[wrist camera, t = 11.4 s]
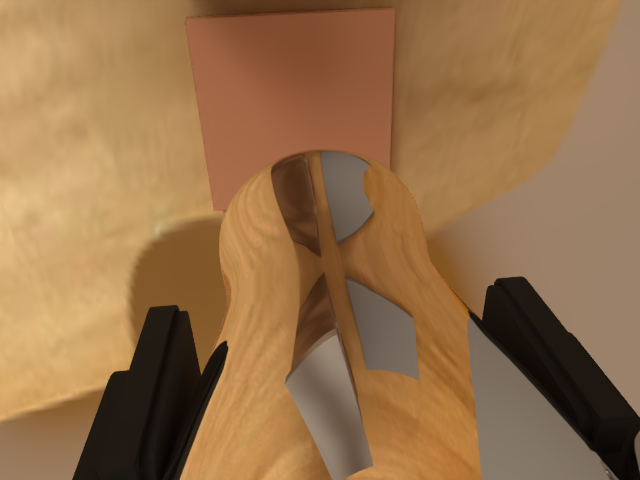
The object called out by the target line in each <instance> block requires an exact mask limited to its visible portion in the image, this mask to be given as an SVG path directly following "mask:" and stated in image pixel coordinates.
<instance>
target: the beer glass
mask: <svg viewBox="0 0 640 480" xmlns="http://www.w3.org/2000/svg"><path fill="white" fill-rule="evenodd" d="M219 255H220V262H221V269H222V275H223V280H224V284H225V289H226V294H227V307H226V311H225V316H224V320H223V323H222V326H221V328H220V331H219V333H218V336H217V339H216V342H215V344H214V347H213V349H212V352H211V354H210V357H209V359H208V361H207V364H206V366H205V368H204V371H203V373H202V376H201V378H200V380H199V383H198V385H197V388H196V390H195V392H194V395H193V397H192V400H191V403H190V405H189V408H188V410H187V413H186V415H185V418H184V420H183V423H182V425H181V428H180V430H179V433H178V435H177V438H176V440H175V443H174V445H173V448H172V450H171V453H170V455H169V458H168V461H167V463H166V466H165V469H164V472H163V475H162V478H161V480H621V478H620V477H619V475H618V474H617V473H616V471H615V470H614V469H613V467H612V466H611V465H610V464H609V462H608V461H607V460H606V459H605V458H604V456H603V455H602V454H601V453H600V452H599V451H598V449H597V448H596V447H595V446H594V445H593V443H592V442H591V441H590V440H589V439H588V438H587V436H586V435H585V434H584V433H583V432H582V430H581V429H580V428H579V427H578V426H577V425H576V423H575V422H574V421H573V420H572V419H571V417H570V416H569V415H568V414H567V413H566V412H565V410H564V409H563V408H562V407H561V406H560V404H559V403H558V402H557V401H556V400H555V399H554V397H553V396H552V395H551V394H550V393H549V392H548V390H547V389H546V388H545V387H544V386H543V385H542V384H541V382H540V381H539V380H538V379H537V378H536V377H535V376H534V375H533V374H532V373H531V372H530V371H529V370H528V369H527V368H526V367H525V366H524V364H523V363H522V362H521V361H520V360H519V359H518V358H517V357H516V356H515V355H514V354H513V353H512V352H511V351H510V350H509V349H508V348H507V347H506V345H505V344H504V343H503V342H502V341H501V340H500V339H499V338H498V337H497V336H496V335H495V334H494V333H493V332H492V331H491V330H490V329H489V328H488V327H487V326H486V325H485V324H484V323H483V322H482V320H481V319H480V318H479V317H478V316H477V315H476V314H475V313H474V312H472V310H471V309H470V308H469V307H468V306H467V305H466V304H465V303H464V302H463V301H462V300H461V299H460V298H459V297H458V295H456V293H455V292H454V291H453V290H452V289H451V288H450V287H449V285H448V284H447V283H446V282H445V281H444V280H443V279H442V278H441V276H440V275H439V273H438V272H437V271H436V269H435V268H434V266H433V265H432V263H431V261H430V259H429V255H428V249H427V243H426V237H425V231H424V227H423V222H422V218H421V215H420V212H419V209H418V206H417V204H416V202H415V200H414V198H413V196H412V194H411V192H410V191H409V189H408V188H407V186H406V185H405V184H404V182H403V181H402V180H401V179H400V178H399V177H398V176H397V175H396V174H395V173H393V172H392V171H391V170H390V169H388V168H387V167H385V166H384V165H382V164H380V163H379V162H377V161H375V160H373V159H371V158H369V157H366V156H364V155H361V154H358V153H354V152H350V151H345V150H337V149H315V150H307V151H302V152H297V153H294V154H291V155H288V156H285V157H282V158H280V159H278V160H276V161H274V162H272V163H270V164H268V165H266V166H265V167H263V168H262V169H260V170H259V171H258V172H256V173H255V174H254V175H253V176H251V177H250V178H249V179H248V180H247V181H246V182H245V183H244V184H243V185H242V187H241V188H240V189H239V190H238V192H237V193H236V194H235V196H234V197H233V199H232V200H231V202H230V204H229V206H228V208H227V210H226V213H225V215H224V218H223V221H222V225H221V230H220V240H219Z"/></svg>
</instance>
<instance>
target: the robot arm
mask: <svg viewBox="0 0 640 480" xmlns="http://www.w3.org/2000/svg"><path fill="white" fill-rule="evenodd" d="M482 322H483V323H484V324H485V325H486V326H487V327H488V328H489V329H490V330H491V331H492V332H493V333H494V334H495V335H496V336H497V337H498V338H499V339H500V340H501V341H502V342H503V343H504V344H505V345H506V347H507V348H508V349H509V350H510V351H511V352H512V353H513V354H514V355H515V356H516V357H517V358H518V359H519V360H520V361H521V362H522V363H523V364H524V366H525V367H526V368H527V369H528V370H529V371H530V372H531V373H532V374H533V375H534V376H535V377H536V378H537V379H538V380H539V381H540V382H541V384H542V385H543V386H544V387H545V388H546V389H547V390H548V392H549V393H550V394H551V395H552V396H553V397H554V399H555V400H556V401H557V402H558V403H559V404H560V406H561V407H562V408H563V409H564V410H565V412H566V413H567V414H568V415H569V416H570V417H571V419H572V420H573V421H574V422H575V423H576V425H577V426H578V427H579V428H580V429H581V430H582V432H583V433H584V434H585V435H586V436H587V438H588V439H589V440H590V441H591V442H592V443H593V445H594V446H595V447H596V448H597V449H598V451H599V452H600V453H601V454H602V455H603V456H604V458H605V459H606V460H607V461H608V462H609V464H610V465H611V466H612V467H613V469H614V470H615V471H616V473H617V474H618V475H619V477H620V478H621V480H640V417H639V416H638V415H637V414H636V412H635V411H634V410H633V409H632V407H631V406H630V405H629V404H628V402H627V401H626V400H625V399H624V397H623V396H622V395H621V394H620V392H619V391H618V390H617V389H616V387H615V386H614V385H613V384H612V382H611V381H610V380H609V379H608V377H607V376H606V375H605V374H604V372H603V371H602V370H601V369H600V367H599V366H598V365H597V364H596V362H595V361H594V360H593V359H592V357H591V356H590V355H589V353H588V352H587V351H586V350H585V349H584V347H583V346H582V345H581V343H580V342H579V341H578V340H577V338H576V337H574V335H572V334H571V333H569V332H568V331H567V330H566V329H565V328H564V326H563V325H562V324H561V323H560V321H559V320H558V319H557V317H556V316H555V315H554V314H553V312H552V311H551V310H550V309H549V307H548V306H547V305H546V304H545V302H544V301H543V300H542V298H541V297H540V296H539V295H538V293H537V292H536V291H535V290H534V288H533V287H532V286H531V285H530V283H529V282H528V281H527V280H526V279H525V278H524V277H510V278H498V279H497V280H496V281H495V282H494V285H490V286H488V288H487V291H486V299H485V305H484V311H483V317H482ZM200 378H201V373H200V368H199V363H198V358H197V354H196V348H195V343H194V338H193V333H192V328H191V324H190V319H189V314H188V312H187V311H179V308H178V306H177V305H171V306H158V307H151V308H150V309H149V311H148V313H147V316H146V320H145V323H144V326H143V329H142V332H141V335H140V338H139V341H138V344H137V347H136V350H135V353H134V356H133V359H132V362H131V365H130V369H129V370H127V371H116V372H114V373H113V374H112V375H111V376H110V378H109V381H108V383H107V386H106V389H105V392H104V394H103V397H102V400H101V403H100V405H99V408H98V411H97V413H96V416H95V419H94V422H93V424H92V427H91V430H90V432H89V435H88V438H87V441H86V443H85V446H84V449H83V452H82V454H81V457H80V460H79V463H78V465H77V468H76V471H75V474H74V477H73V479H72V480H161V478H162V475H163V472H164V469H165V466H166V463H167V461H168V458H169V455H170V453H171V450H172V448H173V445H174V443H175V440H176V438H177V435H178V433H179V430H180V428H181V425H182V423H183V420H184V418H185V415H186V413H187V410H188V408H189V405H190V403H191V400H192V397H193V395H194V392H195V390H196V388H197V385H198V383H199V380H200Z"/></svg>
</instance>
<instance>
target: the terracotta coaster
mask: <svg viewBox="0 0 640 480" xmlns="http://www.w3.org/2000/svg"><path fill="white" fill-rule="evenodd" d="M185 24H186V31H187V37H188V44H189V50H190V57H191V63H192V70H193V76H194V83H195V89H196V96H197V103H198V109H199V116H200V122H201V129H202V135H203V142H204V148H205V155H206V161H207V168H208V174H209V181H210V187H211V194H212V200H213V207H214V211H219V210H227V208H228V206H229V204H230V202H231V200H232V199H233V197H234V196H235V194H236V193H237V192H238V190H239V189H240V188H241V187H242V185H243V184H244V183H245V182H246V181H247V180H248V179H249V178H250V177H251V176H253V175H254V174H255V173H256V172H258V171H259V170H260V169H262V168H263V167H265V166H266V165H268V164H270V163H272V162H274V161H276V160H278V159H280V158H282V157H285V156H288V155H291V154H294V153H297V152H302V151H307V150H315V149H337V150H345V151H350V152H354V153H358V154H361V155H364V156H366V157H369V158H371V159H373V160H375V161H377V162H379V163H380V164H382V165H384V166H385V167H387V168H388V169H390V151H391V122H392V93H393V64H394V35H395V9H394V8H392V7H384V8H364V9H343V10H322V11H302V12H281V13H260V14H240V15H219V16H198V17H187V18H186V19H185Z"/></svg>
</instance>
